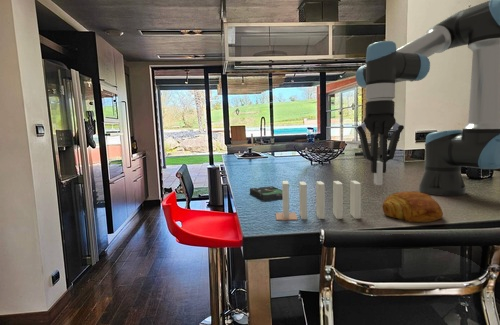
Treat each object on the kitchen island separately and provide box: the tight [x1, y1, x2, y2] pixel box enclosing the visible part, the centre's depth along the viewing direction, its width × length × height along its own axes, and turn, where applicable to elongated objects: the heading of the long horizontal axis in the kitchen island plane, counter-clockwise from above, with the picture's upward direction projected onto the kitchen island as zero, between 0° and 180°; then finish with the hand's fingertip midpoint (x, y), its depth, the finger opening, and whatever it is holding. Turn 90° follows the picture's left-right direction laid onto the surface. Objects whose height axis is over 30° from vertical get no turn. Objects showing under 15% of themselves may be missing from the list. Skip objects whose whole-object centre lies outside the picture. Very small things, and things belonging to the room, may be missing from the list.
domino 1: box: [281, 180, 290, 218], centre depth 91 cm, size 5×2×10 cm, turn 177°
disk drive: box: [249, 186, 283, 202], centre depth 121 cm, size 10×3×15 cm
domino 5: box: [349, 180, 362, 220], centre depth 90 cm, size 2×5×10 cm, turn 177°
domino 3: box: [315, 180, 326, 220], centre depth 90 cm, size 2×5×10 cm, turn 177°
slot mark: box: [275, 212, 298, 221], centre depth 91 cm, size 6×7×1 cm
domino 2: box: [298, 181, 308, 220], centre depth 91 cm, size 2×5×10 cm, turn 177°
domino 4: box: [332, 180, 344, 220], centre depth 90 cm, size 2×5×10 cm, turn 177°
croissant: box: [382, 190, 444, 223], centre depth 89 cm, size 14×16×8 cm
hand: (378, 184), depth 89 cm, fingers closed
